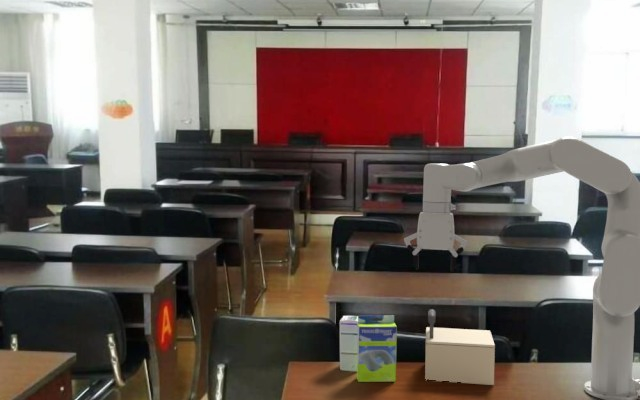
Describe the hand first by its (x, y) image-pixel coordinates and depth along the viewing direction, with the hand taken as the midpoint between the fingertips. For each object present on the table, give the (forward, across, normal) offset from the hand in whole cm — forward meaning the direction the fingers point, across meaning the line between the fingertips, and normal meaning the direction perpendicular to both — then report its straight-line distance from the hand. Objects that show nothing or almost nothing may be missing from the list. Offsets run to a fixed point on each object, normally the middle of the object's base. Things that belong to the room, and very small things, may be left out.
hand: (434, 269), depth 171 cm
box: (+30, +14, +9) cm, 34 cm away
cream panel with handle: (+19, -7, 0) cm, 20 cm away
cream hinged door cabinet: (+29, -7, 0) cm, 30 cm away
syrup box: (+30, +23, +1) cm, 37 cm away
